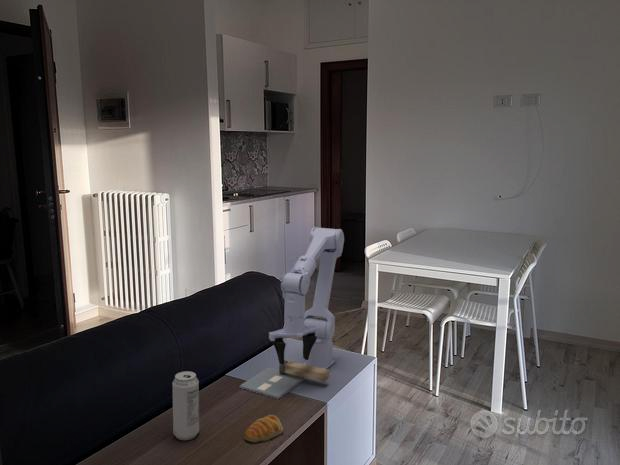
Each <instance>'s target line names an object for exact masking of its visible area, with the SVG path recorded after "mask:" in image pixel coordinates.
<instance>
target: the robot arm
mask: <svg viewBox="0 0 620 465" xmlns="http://www.w3.org/2000/svg"><path fill="white" fill-rule="evenodd" d="M344 234H345V233H344V232H343V229H341V228H338V229H337V228H336V229H335V228H329V227H328V228H326V227H318V226H313V227H312V228H311V230H310V232H309V245H308V247H307V250H306V252H305V254H304V255H301V256H299V258H298V259H297V260H296V262H295V264H294V265H293V266H292V268H291V270H290V271H289V272H287V273H285V274H283V276H282V278H281V283H280V289H281V291H282V299H284V307H283V308H284V311H283V312H284V316H283V317H284V318H283V319H284V320H283V322H284V323H283V324H284V325H283V328H281V329H278V330H274V331H269V332H268V339H269V341H271V342H272V344H273V346H274V349H275V351H276V356H277V360H278V363H280V364H284V360H285V349H286V346H287V344H286V342H284V339H289V338H295V337H296V338H302V358H303V359H304V360H305V361H304V362H302V364H305V365H309V366H313V367H318V368H322V369H327V370H328V369H329V367H331V366H333V364H335V363H336V361H335V360H334V359H333V351H334V350H333V346H334V342H333V337H334V334H335V330H336V329H335V328H336V325H335V323H336V317H335V315H334V314H333V313H332V312H331V311H330V310H329V304H330V297H331V292H332V286H333V282H334V281H333V280H334V276H335V275H334V274H335V269H336V263H337V259H338V258H340V257H342V253H343V249H344V243H345V235H344ZM318 259H320V261H319V268H318V273H317V274H318V275H317V279H316V284H315V292H314V297H313V302H312V306H311V308H309V309H307V310H306V294H307V293H308V291H309V288H310V283H311V277H312V275H313V274H314V272H315V270H316V268H317V262H316V261H317V260H318Z"/></svg>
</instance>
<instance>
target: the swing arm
mask: <svg viewBox="0 0 620 465" xmlns="http://www.w3.org/2000/svg"><path fill="white" fill-rule="evenodd" d="M278 363H279V362H278ZM278 368H279V369H278V370H279V373H280V374H287V373H289V374H293V375H297V376H301V377H305V379H311V380H315V381H318V382H323V383H325V382H326V381H327V380H329V378H330V370H329V369H328V368H327V369H322V368H318V367H313V366H309V365H305V364H303V363H299V362H295V361H292V360H290V361H288V360H285V359H284V364H280V363H279V364H278Z"/></svg>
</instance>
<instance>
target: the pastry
mask: <svg viewBox="0 0 620 465" xmlns="http://www.w3.org/2000/svg"><path fill="white" fill-rule="evenodd" d="M283 432H284V427H283V424H282V423H281V421H280V419H279V417H277V416H276V415H275V414H268V415H266V416H264V417H260V418H258V419H256V420H255V421H254V422H253V423H251V425H249V426H248V427H247V428H246V430H245V431H244V437H243V438H244V440H246V441H248V442H251V443H255V444H256V443H260V442H266V441H269V440H271V438H272V439H273V437H274V438H276V437H278V436H280V435H281V434H282V433H283ZM279 434H280V435H279ZM277 435H278V436H277ZM275 436H276V437H275Z"/></svg>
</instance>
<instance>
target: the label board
mask: <svg viewBox="0 0 620 465" xmlns="http://www.w3.org/2000/svg"><path fill="white" fill-rule="evenodd" d="M305 379H306V378H305V377H301V376H297V375H293V374H289V373H287V374H280V373H279V369H276V368H273V367H269V366H268V367H266V368H265V369H263V370H262V371H259V372H258V373H257V374H256V375H255V374H254V376H252V377H251V378H250V379H247V380H246V381H245V382H243V383H242V384H239V389H240V388H242V389H241V390H244V389H246V390H245V391H247V390H249V391H248V392H251V391H252V393H254V392H256V393H255V394H258V393H260V394H259V395H261V394H263V395H262V396H265V395H266V396H265V397H268V396H270V397H269V398H272V397H273V398H272V399H275V398H276V400H279V398H280V397H281V398H282V397H283V395H284V396H285V395H286V394H288V393H289V392H290V391H292V389H294V388H296V387H297V386H298V385H299V384H301V383H302V382H303V381H304V380H305ZM281 398H280V399H281Z"/></svg>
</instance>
